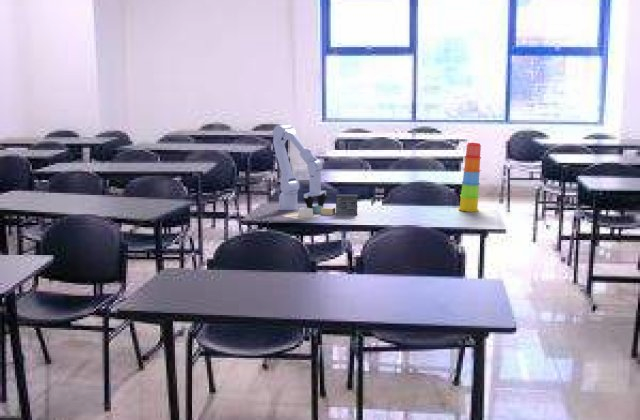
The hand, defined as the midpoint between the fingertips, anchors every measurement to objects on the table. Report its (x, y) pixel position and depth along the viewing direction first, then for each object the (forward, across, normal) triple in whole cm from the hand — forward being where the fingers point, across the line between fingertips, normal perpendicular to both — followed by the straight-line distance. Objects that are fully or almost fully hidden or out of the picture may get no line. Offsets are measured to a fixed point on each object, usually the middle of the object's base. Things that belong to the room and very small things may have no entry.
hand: (315, 210), depth 371 cm
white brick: (+1, -12, -5) cm, 13 cm away
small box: (+2, +6, -16) cm, 17 cm away
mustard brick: (+2, 0, -9) cm, 9 cm away
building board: (+1, -12, -2) cm, 12 cm away
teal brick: (+2, 0, 0) cm, 2 cm away
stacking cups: (+2, +59, -53) cm, 79 cm away
